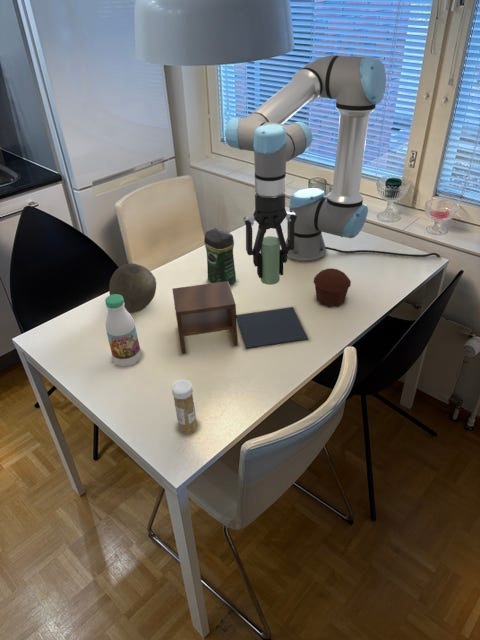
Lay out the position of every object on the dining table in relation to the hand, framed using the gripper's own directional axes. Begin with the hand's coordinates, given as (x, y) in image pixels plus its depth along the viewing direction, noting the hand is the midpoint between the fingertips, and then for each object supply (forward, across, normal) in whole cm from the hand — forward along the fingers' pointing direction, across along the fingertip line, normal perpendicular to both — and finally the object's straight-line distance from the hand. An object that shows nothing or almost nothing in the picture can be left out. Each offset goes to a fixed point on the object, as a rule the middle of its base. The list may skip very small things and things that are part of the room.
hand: (270, 274), depth 135 cm
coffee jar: (+19, +10, -29) cm, 36 cm away
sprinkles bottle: (+19, +28, +33) cm, 47 cm away
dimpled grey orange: (+19, +39, -20) cm, 48 cm away
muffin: (+19, -22, -10) cm, 31 cm away
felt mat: (+19, 0, 0) cm, 19 cm away
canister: (+2, 0, 0) cm, 2 cm away
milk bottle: (+19, +42, +4) cm, 46 cm away
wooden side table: (+19, +19, 0) cm, 27 cm away
